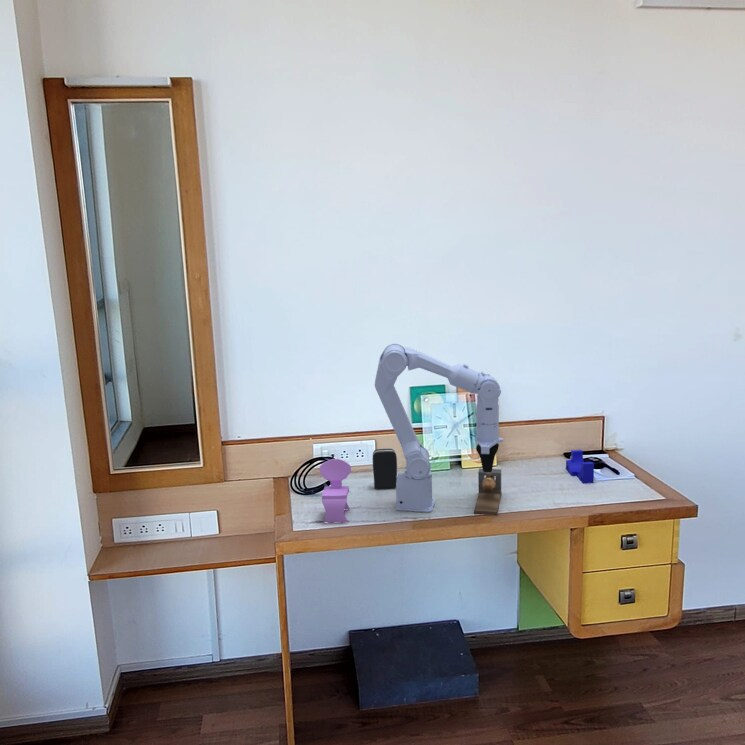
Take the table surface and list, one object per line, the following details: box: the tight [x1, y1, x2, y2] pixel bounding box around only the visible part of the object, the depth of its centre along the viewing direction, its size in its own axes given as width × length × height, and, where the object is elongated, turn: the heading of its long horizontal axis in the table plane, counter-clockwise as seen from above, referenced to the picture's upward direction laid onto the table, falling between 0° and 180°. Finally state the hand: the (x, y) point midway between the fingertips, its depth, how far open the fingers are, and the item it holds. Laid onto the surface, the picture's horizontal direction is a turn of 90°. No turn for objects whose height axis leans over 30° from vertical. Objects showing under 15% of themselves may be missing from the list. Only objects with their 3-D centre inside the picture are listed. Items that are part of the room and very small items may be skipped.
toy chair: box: [318, 458, 352, 523], centre depth 182 cm, size 8×9×15 cm
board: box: [473, 492, 502, 516], centre depth 188 cm, size 15×6×1 cm, turn 166°
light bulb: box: [482, 476, 496, 492], centre depth 193 cm, size 10×4×4 cm, turn 166°
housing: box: [477, 467, 502, 495], centre depth 193 cm, size 3×6×6 cm, turn 76°
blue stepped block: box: [565, 449, 595, 484], centre depth 204 cm, size 12×4×6 cm, turn 1°
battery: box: [372, 448, 398, 490], centre depth 201 cm, size 7×4×11 cm, turn 93°
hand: (487, 471), depth 185 cm, fingers closed
